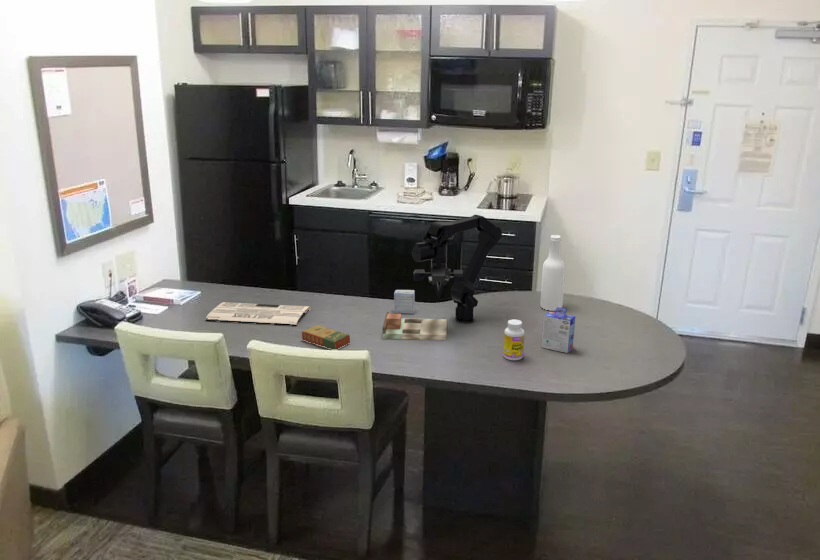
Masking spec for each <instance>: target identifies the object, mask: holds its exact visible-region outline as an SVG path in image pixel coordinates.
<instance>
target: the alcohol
mask: <svg viewBox="0 0 820 560" xmlns="http://www.w3.org/2000/svg"><path fill="white" fill-rule="evenodd" d="M561 238H562V236H561V235H560V234H552V235H550V242H549V250H548V256H547V258H546V259H545V260H544V262H543V265H542V270H541V273H542V274H541V287H540V288H541V290H540V307H541V309H542V308H543V310H544V309H545V310H544V311H547V310H549V311H548V312H555V311H556V308H557V307H559V308H564V306H563V305H564V289H565V277H566V275H565V274H566V264H565V262H564V261H563V259H562V257H561V256H562V255H561V251H562V250H561V241H562V239H561Z"/></svg>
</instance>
